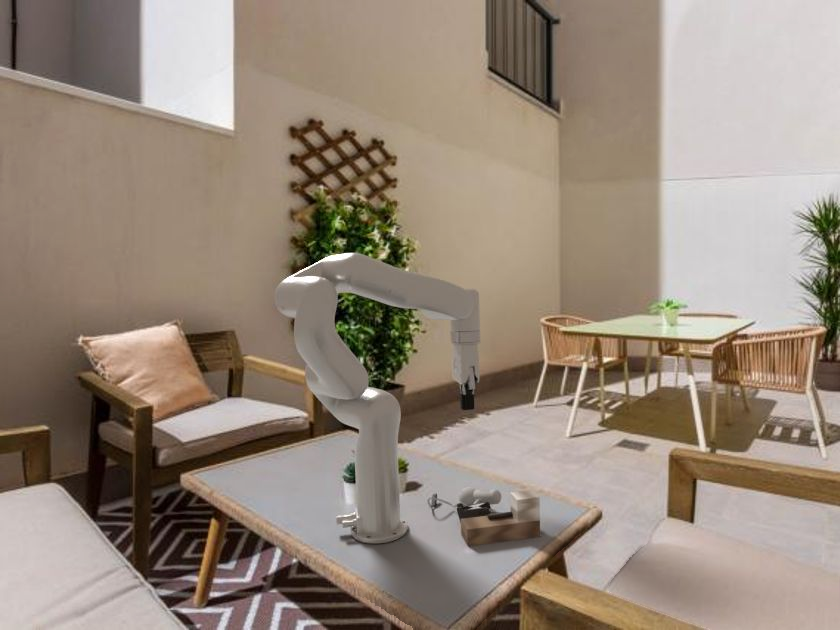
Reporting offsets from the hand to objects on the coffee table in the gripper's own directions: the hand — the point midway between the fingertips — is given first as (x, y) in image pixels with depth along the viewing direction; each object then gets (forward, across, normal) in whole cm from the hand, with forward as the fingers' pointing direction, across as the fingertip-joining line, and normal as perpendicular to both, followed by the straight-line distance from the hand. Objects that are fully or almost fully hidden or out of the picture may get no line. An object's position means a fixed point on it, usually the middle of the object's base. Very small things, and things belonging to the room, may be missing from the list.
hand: (467, 408), depth 132 cm
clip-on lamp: (+22, +10, -5) cm, 25 cm away
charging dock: (+22, +23, 0) cm, 32 cm away
